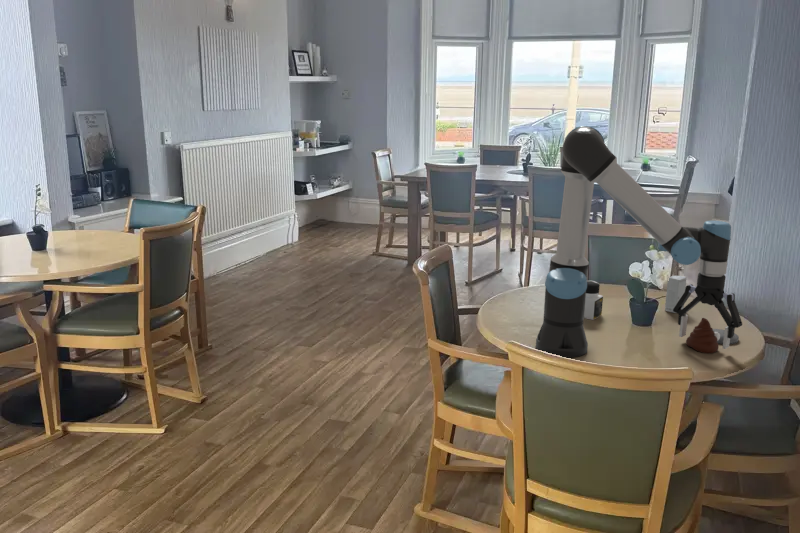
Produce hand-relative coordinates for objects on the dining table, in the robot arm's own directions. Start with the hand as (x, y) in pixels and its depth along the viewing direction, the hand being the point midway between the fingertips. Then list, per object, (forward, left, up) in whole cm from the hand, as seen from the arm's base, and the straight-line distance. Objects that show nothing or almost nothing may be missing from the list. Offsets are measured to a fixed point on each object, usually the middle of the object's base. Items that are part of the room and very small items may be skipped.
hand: (703, 341), depth 211 cm
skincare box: (+28, +24, -2) cm, 37 cm away
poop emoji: (0, 0, -2) cm, 2 cm away
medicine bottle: (-1, +40, -2) cm, 40 cm away
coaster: (+12, +1, -2) cm, 12 cm away
